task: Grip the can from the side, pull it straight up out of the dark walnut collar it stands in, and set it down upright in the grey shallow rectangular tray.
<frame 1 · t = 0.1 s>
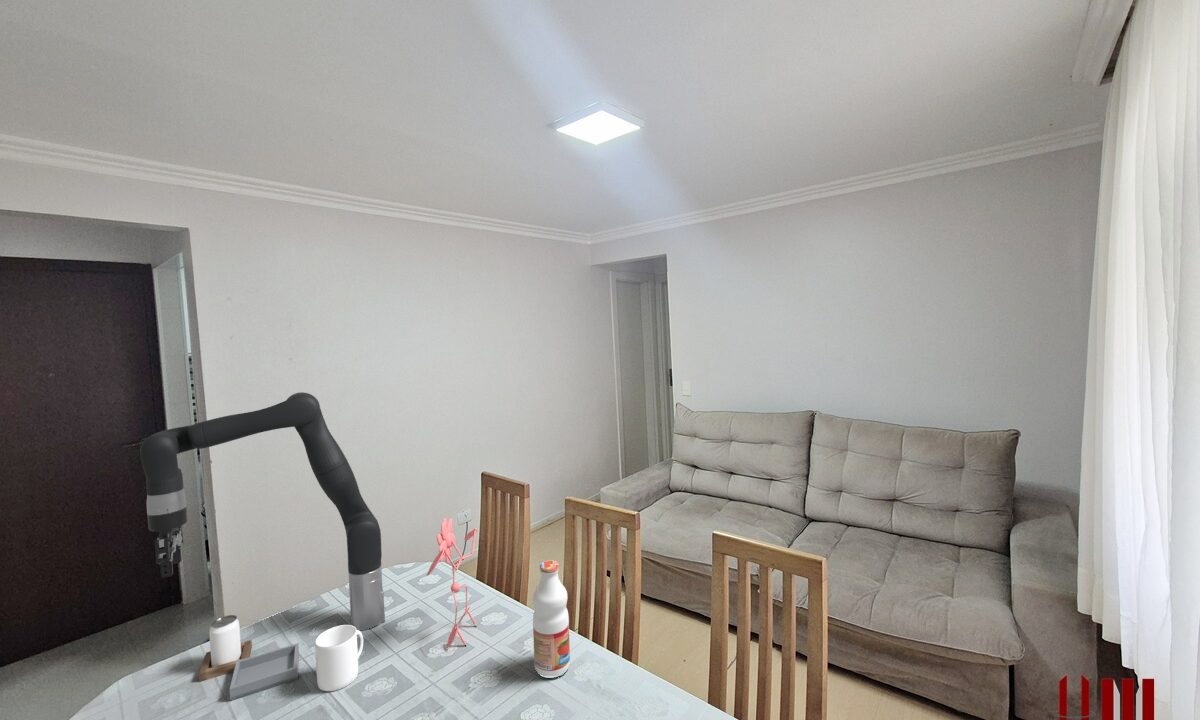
hand: (171, 569, 125), 29 cm above the table, tool pointing down, fingers open, 8 cm apart
fruit juice: (552, 668, 126), on the table
mug: (342, 676, 125), on the table
grey shallow rectangular tray: (267, 675, 126), on the table
can: (226, 664, 131), resting in walnut collar
figurine: (449, 636, 141), on the table
walnut collar: (226, 663, 131), on the table
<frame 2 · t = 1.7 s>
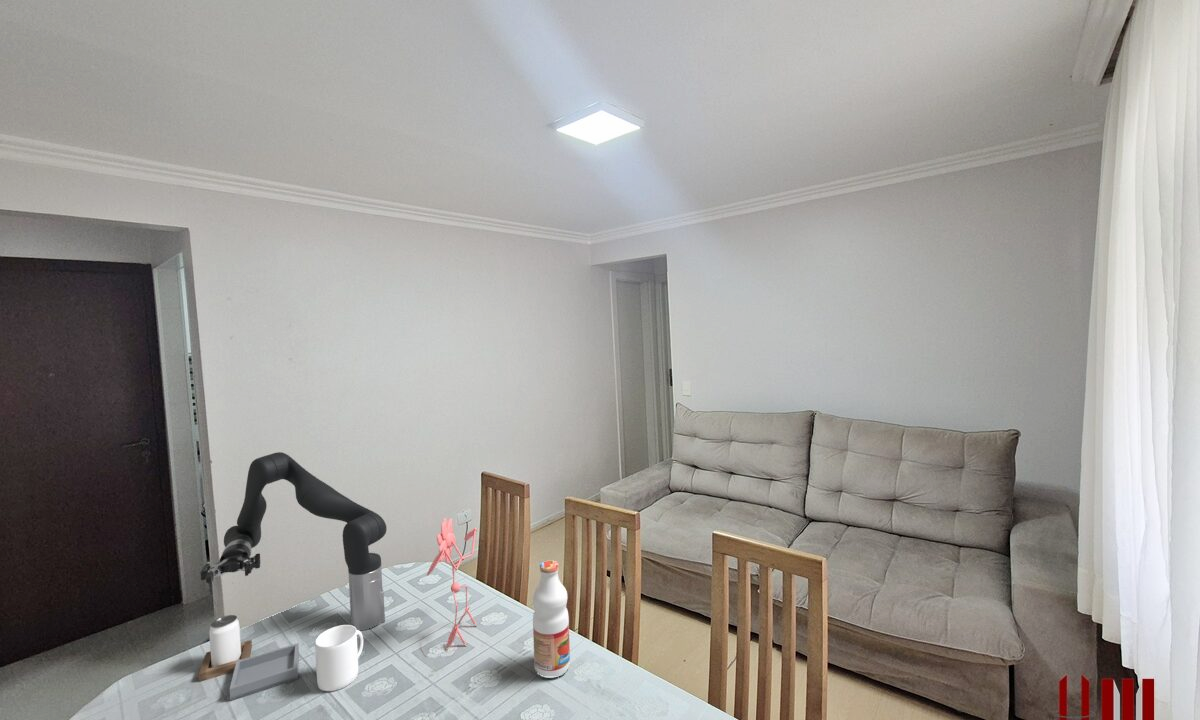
hand: (228, 576, 140), 20 cm above the table, tool horizontal, fingers open, 8 cm apart
nothing on the table moved.
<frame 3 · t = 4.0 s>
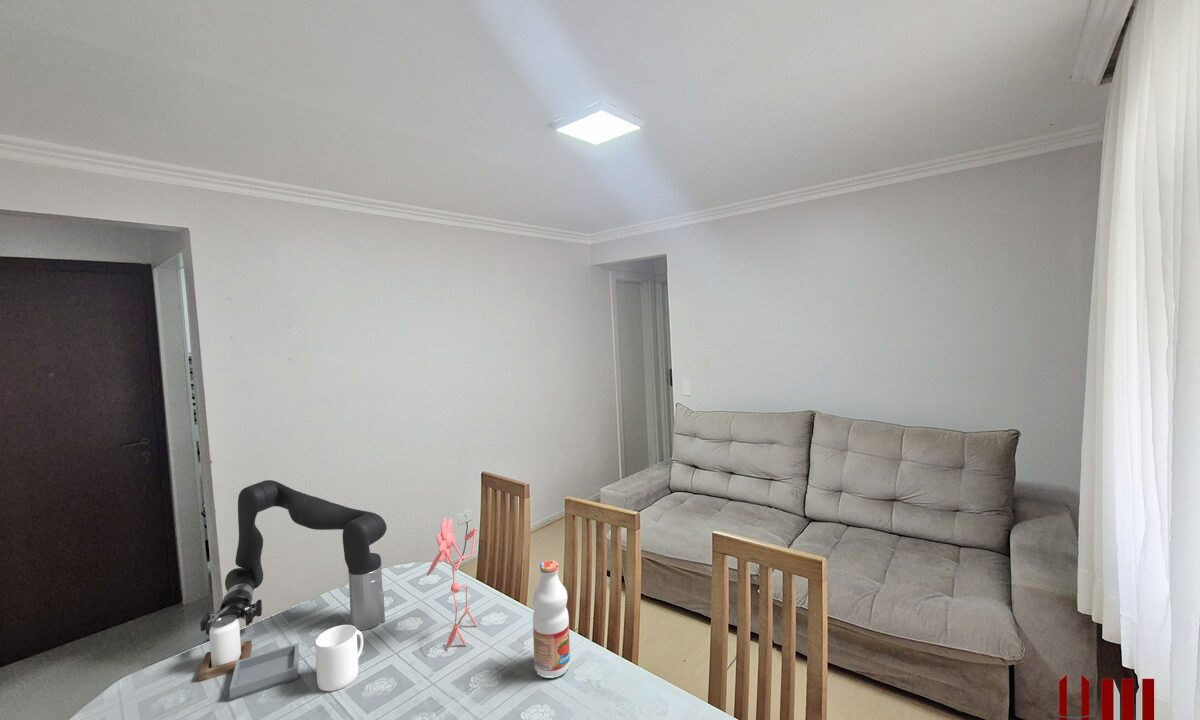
hand: (228, 627, 136), 7 cm above the table, tool horizontal, fingers open, 8 cm apart
nothing on the table moved.
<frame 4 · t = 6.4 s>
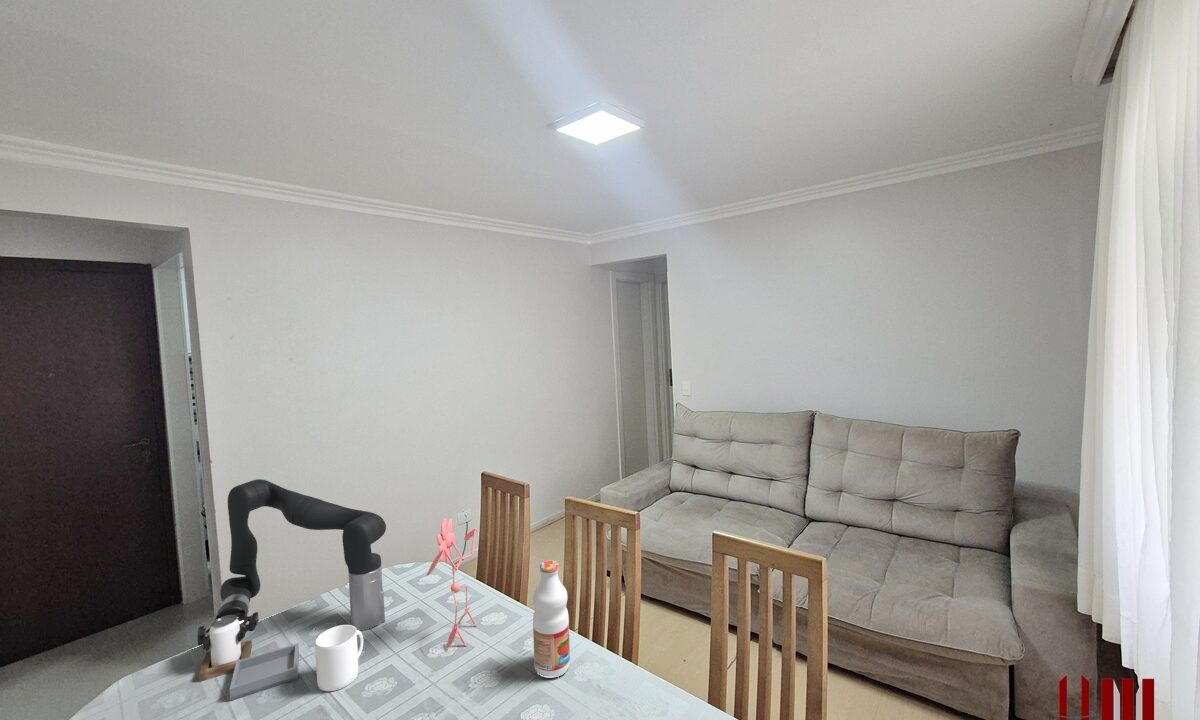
hand: (223, 642, 129), 7 cm above the table, tool horizontal, fingers closed on can, 6 cm apart
can: (226, 663, 131), resting in walnut collar, touching gripper
everything else where it was.
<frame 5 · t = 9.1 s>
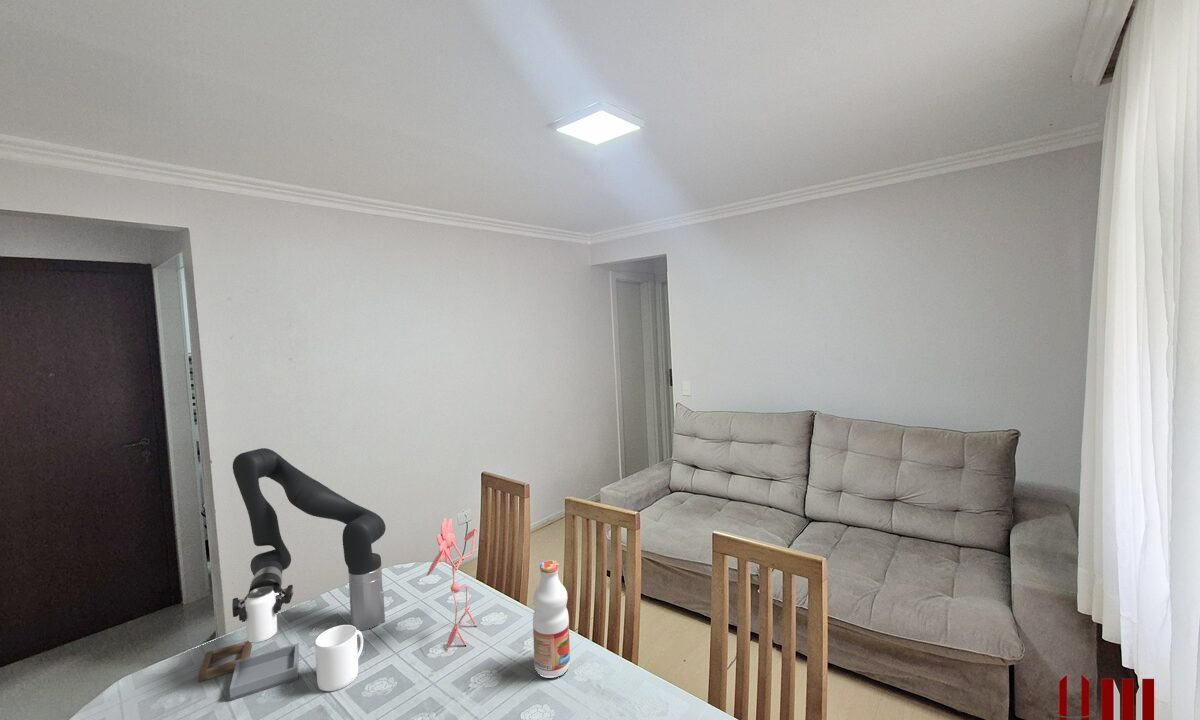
hand: (260, 613, 123), 18 cm above the table, tool horizontal, fingers closed on can, 6 cm apart
can: (262, 636, 126), point 10 cm above the table, touching gripper
everything else where it was.
when the fingers open (9 cm above the table, at t = 12.2 s): can drops 1 cm, resting on grey shallow rectangular tray.
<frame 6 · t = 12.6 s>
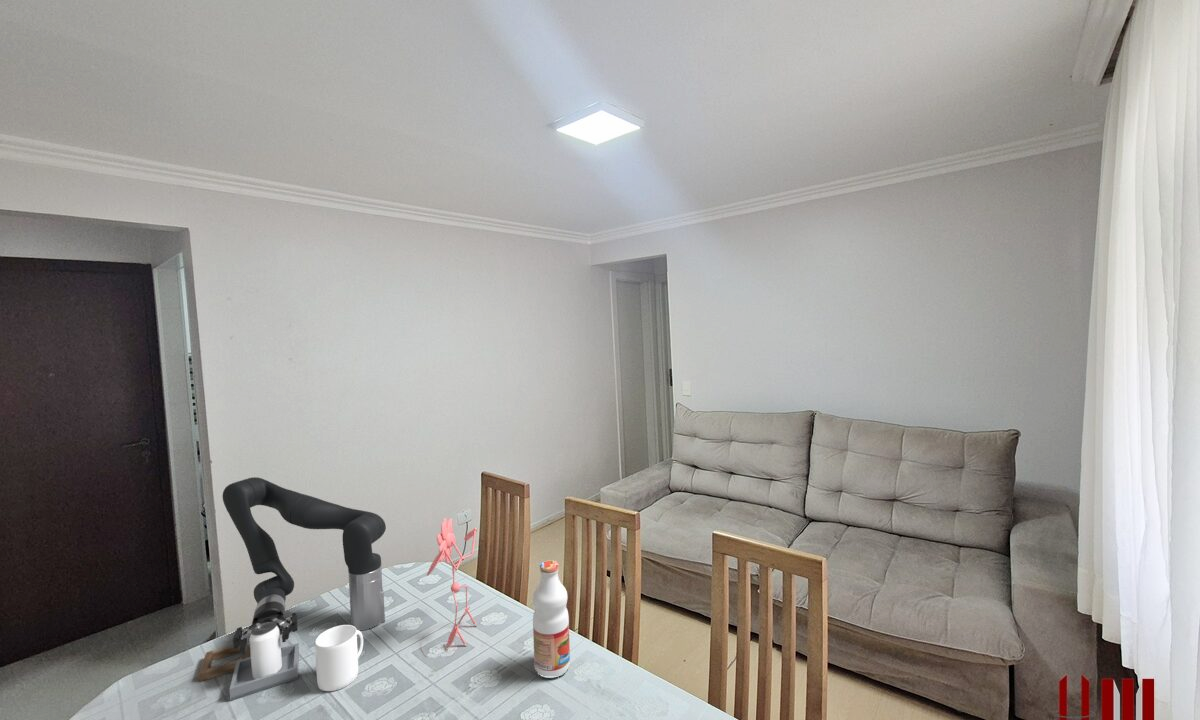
hand: (264, 644, 124), 10 cm above the table, tool horizontal, fingers open, 8 cm apart
can: (267, 672, 126), point 1 cm above the table, touching grey shallow rectangular tray
everything else where it was.
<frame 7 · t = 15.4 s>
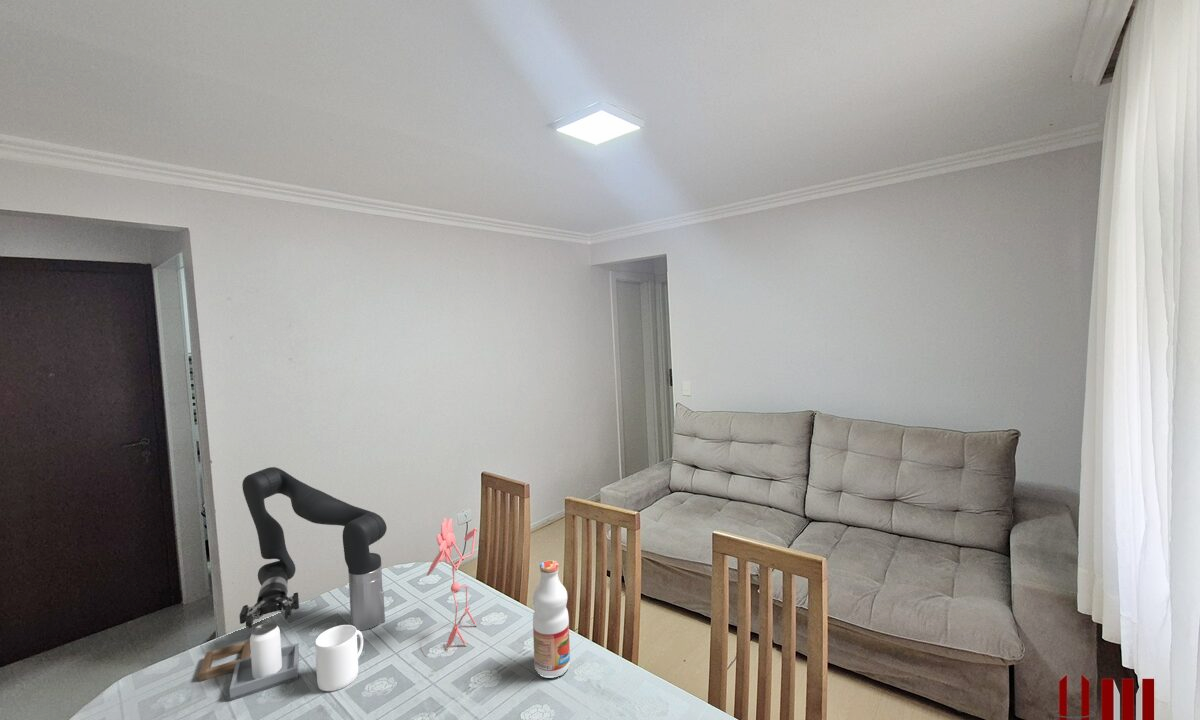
hand: (268, 619, 135), 9 cm above the table, tool horizontal, fingers open, 8 cm apart
nothing on the table moved.
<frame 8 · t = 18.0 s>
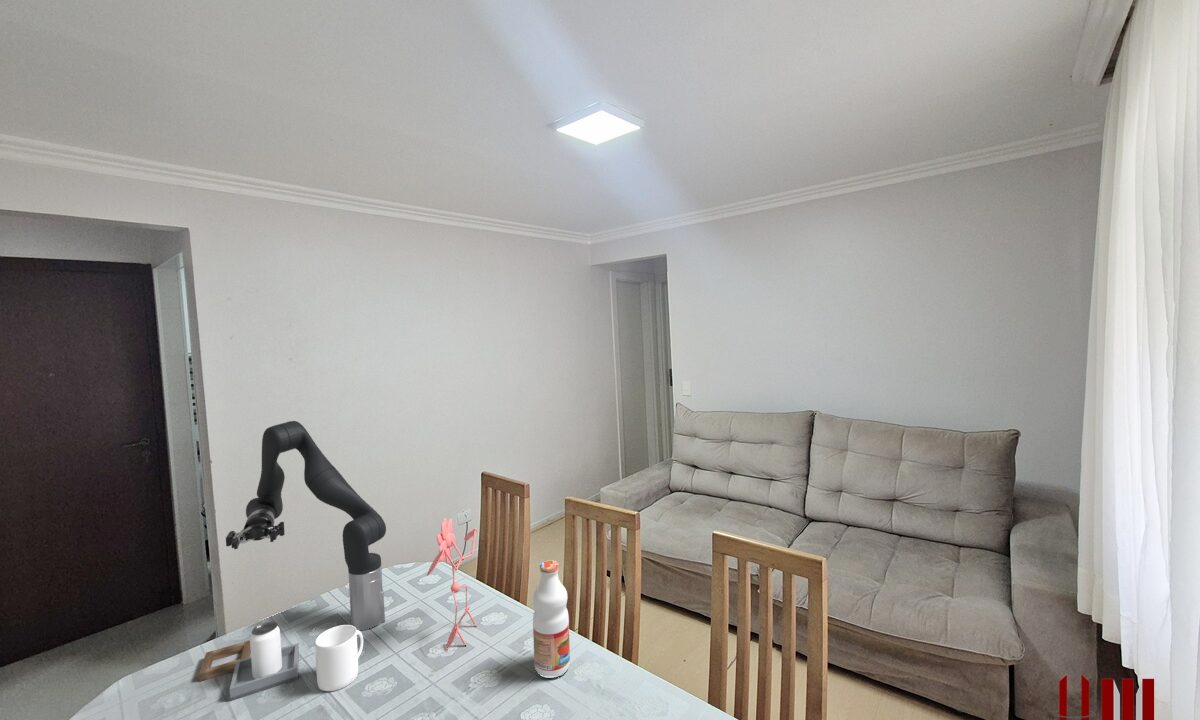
hand: (253, 542, 138), 30 cm above the table, tool horizontal, fingers open, 8 cm apart
nothing on the table moved.
at the end: can inside the target area on the grey shallow rectangular tray (0.1 cm from its centre), point 0.6 cm above the grey shallow rectangular tray's base; can tilted 0°; the gripper is holding nothing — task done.
